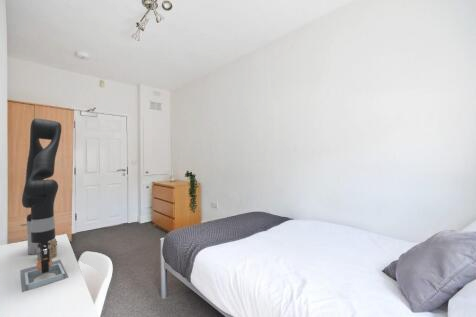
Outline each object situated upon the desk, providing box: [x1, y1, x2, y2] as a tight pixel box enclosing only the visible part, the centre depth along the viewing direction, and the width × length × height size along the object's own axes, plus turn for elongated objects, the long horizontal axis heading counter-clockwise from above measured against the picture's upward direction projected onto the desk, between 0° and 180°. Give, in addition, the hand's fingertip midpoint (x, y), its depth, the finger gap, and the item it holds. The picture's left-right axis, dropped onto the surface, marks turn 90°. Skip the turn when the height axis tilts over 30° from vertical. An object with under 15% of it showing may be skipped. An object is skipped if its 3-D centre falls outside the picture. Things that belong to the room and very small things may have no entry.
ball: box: [35, 258, 53, 271], centre depth 94 cm, size 5×5×5 cm
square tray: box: [25, 263, 66, 292], centre depth 94 cm, size 14×12×2 cm
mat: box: [19, 259, 69, 293], centre depth 98 cm, size 24×14×1 cm, turn 45°
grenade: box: [36, 237, 58, 262], centre depth 114 cm, size 8×7×15 cm
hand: (44, 269), depth 94 cm, fingers closed on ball, 5 cm apart
